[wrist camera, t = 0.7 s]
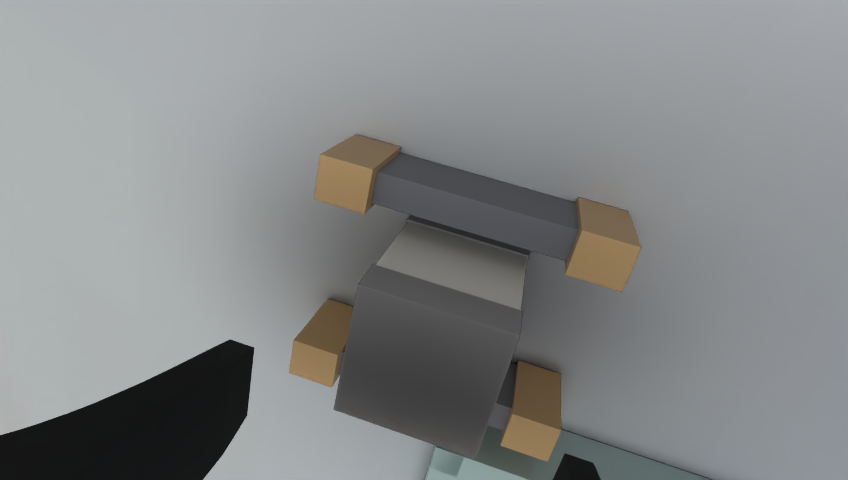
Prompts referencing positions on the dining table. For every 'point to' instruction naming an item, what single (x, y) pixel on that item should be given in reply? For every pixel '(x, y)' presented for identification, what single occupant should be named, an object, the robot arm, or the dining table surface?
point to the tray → (528, 476)
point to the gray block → (434, 335)
